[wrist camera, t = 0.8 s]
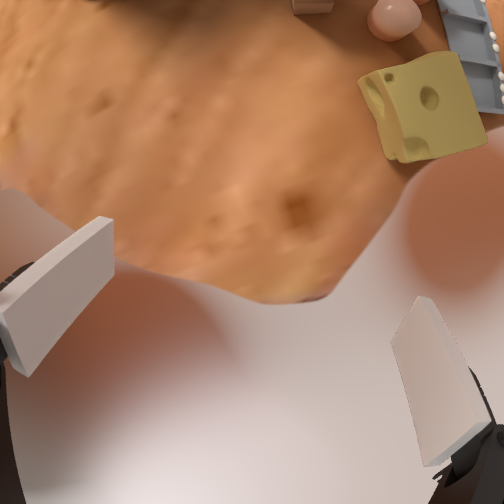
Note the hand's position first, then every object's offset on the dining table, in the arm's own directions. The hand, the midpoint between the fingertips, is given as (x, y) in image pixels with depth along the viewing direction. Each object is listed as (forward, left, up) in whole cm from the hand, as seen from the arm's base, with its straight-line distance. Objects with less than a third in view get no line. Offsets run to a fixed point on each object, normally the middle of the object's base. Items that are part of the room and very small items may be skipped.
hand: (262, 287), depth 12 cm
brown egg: (-18, +16, -27) cm, 36 cm away
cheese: (-7, +17, -27) cm, 33 cm away
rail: (-17, +29, -27) cm, 43 cm away
